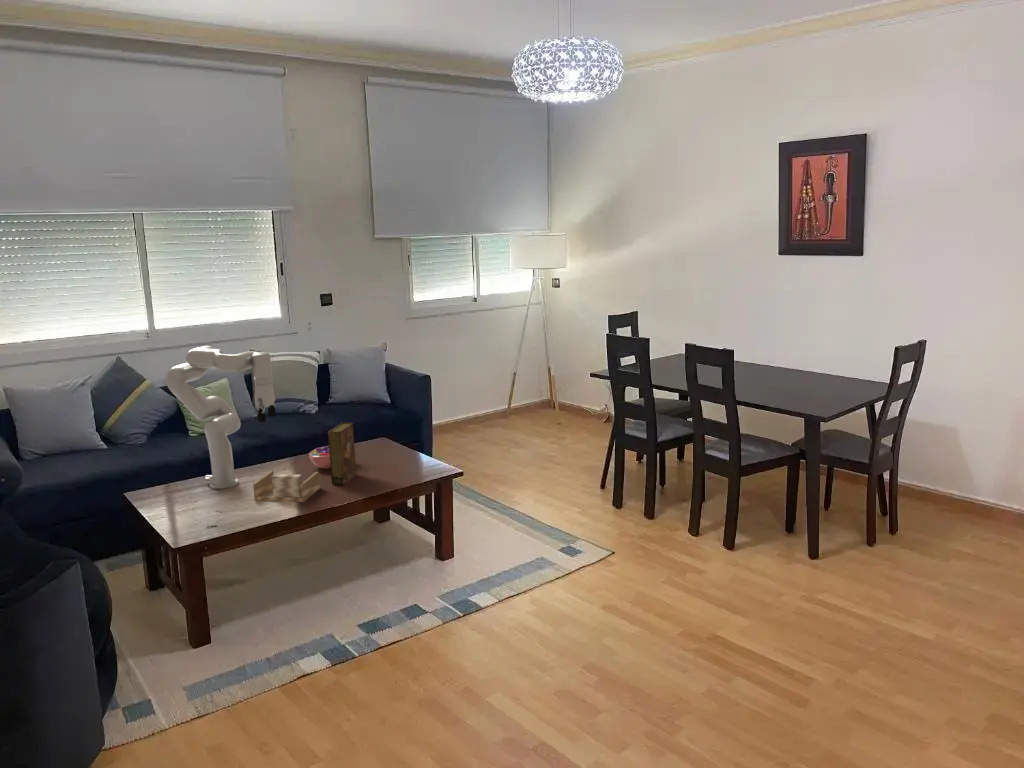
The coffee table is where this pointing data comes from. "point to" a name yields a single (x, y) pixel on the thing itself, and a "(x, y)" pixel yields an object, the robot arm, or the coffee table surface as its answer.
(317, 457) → the cell model
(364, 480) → the coffee table surface
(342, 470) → the book
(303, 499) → the pine rack
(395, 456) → the coffee table surface
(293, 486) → the birch sheet
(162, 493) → the coffee table surface
